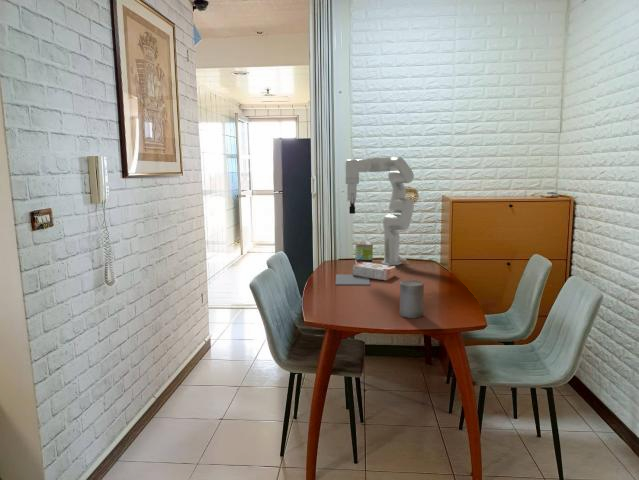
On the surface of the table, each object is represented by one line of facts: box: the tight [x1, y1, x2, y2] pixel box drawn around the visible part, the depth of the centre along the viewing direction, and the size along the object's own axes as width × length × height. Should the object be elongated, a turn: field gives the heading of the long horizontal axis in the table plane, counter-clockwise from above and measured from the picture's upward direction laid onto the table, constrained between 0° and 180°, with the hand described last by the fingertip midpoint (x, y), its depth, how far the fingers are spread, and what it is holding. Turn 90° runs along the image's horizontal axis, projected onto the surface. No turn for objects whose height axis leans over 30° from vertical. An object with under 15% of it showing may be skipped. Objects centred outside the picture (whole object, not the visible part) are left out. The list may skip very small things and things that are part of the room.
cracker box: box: [351, 262, 397, 281], centre depth 264 cm, size 14×6×21 cm
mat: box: [335, 273, 371, 286], centre depth 256 cm, size 18×23×1 cm
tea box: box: [354, 240, 374, 264], centre depth 294 cm, size 15×10×15 cm
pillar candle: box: [399, 279, 425, 319], centre depth 193 cm, size 10×10×15 cm
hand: (352, 213), depth 270 cm, fingers closed
